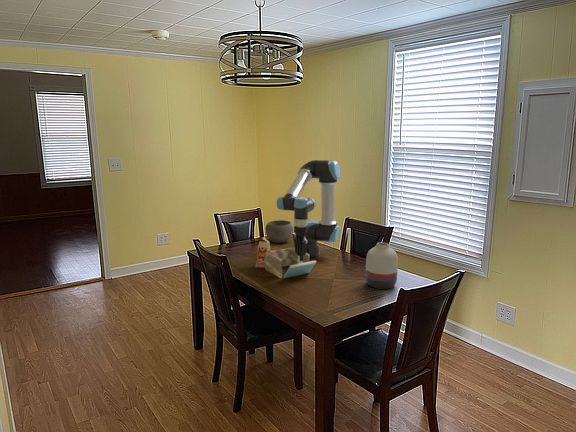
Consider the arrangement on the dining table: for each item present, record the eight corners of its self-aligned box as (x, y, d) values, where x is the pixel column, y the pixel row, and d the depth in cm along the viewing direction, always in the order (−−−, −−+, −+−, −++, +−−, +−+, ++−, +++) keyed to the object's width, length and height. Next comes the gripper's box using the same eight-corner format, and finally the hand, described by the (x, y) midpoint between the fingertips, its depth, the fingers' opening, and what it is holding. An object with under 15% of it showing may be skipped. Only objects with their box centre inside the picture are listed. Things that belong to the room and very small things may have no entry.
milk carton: (269, 270, 260) (269, 238, 256) (254, 269, 262) (254, 237, 258) (272, 265, 269) (272, 234, 265) (258, 264, 271) (258, 233, 267)
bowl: (263, 244, 316) (262, 224, 313) (268, 237, 337) (268, 219, 334) (290, 246, 313) (290, 226, 310) (295, 238, 333) (295, 220, 330)
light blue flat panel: (308, 272, 253) (316, 260, 244) (308, 273, 252) (317, 261, 243) (281, 277, 244) (289, 265, 235) (282, 279, 243) (290, 267, 234)
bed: (293, 265, 269) (293, 247, 266) (309, 273, 254) (309, 254, 251) (265, 271, 258) (265, 252, 256) (280, 280, 243) (280, 259, 241)
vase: (390, 293, 224) (392, 250, 219) (360, 287, 233) (362, 245, 228) (400, 283, 238) (403, 242, 233) (371, 278, 247) (373, 238, 242)
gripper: (288, 224, 241) (288, 263, 246) (301, 229, 230) (300, 270, 235) (300, 222, 244) (299, 261, 250) (312, 227, 234) (311, 268, 239)
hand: (300, 265), depth 242 cm, fingers closed
